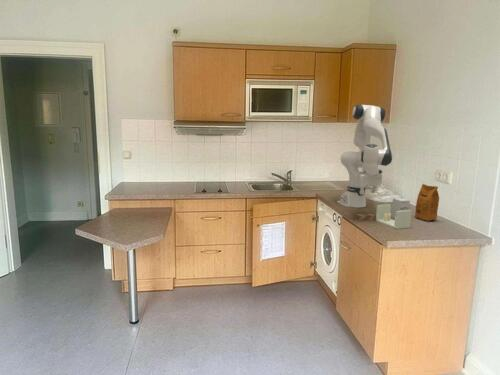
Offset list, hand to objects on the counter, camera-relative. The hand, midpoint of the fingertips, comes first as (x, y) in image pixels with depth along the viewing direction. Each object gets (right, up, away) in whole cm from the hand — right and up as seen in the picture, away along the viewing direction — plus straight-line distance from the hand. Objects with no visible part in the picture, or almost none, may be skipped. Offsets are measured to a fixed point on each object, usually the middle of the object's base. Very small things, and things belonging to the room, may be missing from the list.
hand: (367, 193), depth 220 cm
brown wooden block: (0, -17, +3) cm, 17 cm away
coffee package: (+40, -17, +9) cm, 44 cm away
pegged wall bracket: (+13, -18, -6) cm, 23 cm away
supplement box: (+23, -17, +7) cm, 29 cm away
